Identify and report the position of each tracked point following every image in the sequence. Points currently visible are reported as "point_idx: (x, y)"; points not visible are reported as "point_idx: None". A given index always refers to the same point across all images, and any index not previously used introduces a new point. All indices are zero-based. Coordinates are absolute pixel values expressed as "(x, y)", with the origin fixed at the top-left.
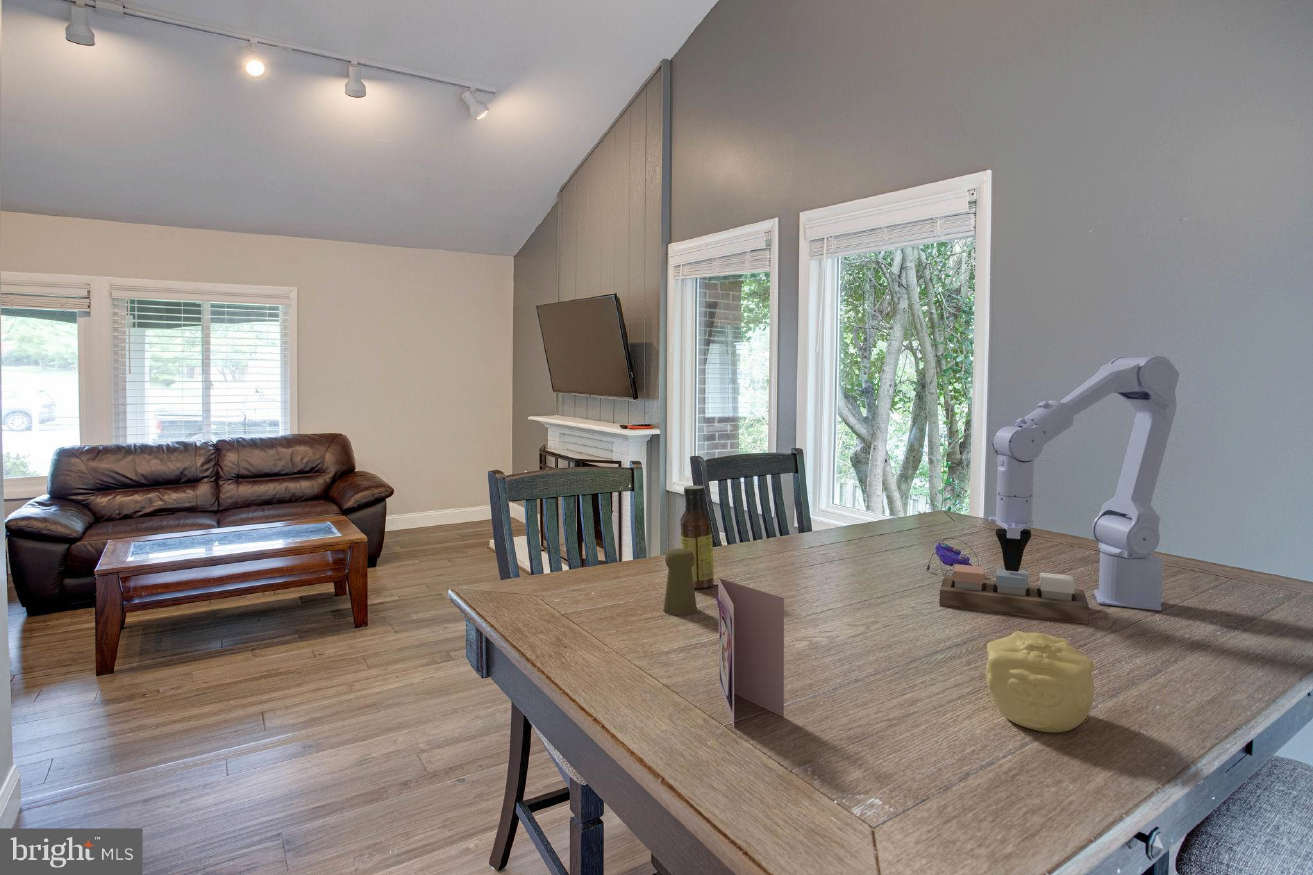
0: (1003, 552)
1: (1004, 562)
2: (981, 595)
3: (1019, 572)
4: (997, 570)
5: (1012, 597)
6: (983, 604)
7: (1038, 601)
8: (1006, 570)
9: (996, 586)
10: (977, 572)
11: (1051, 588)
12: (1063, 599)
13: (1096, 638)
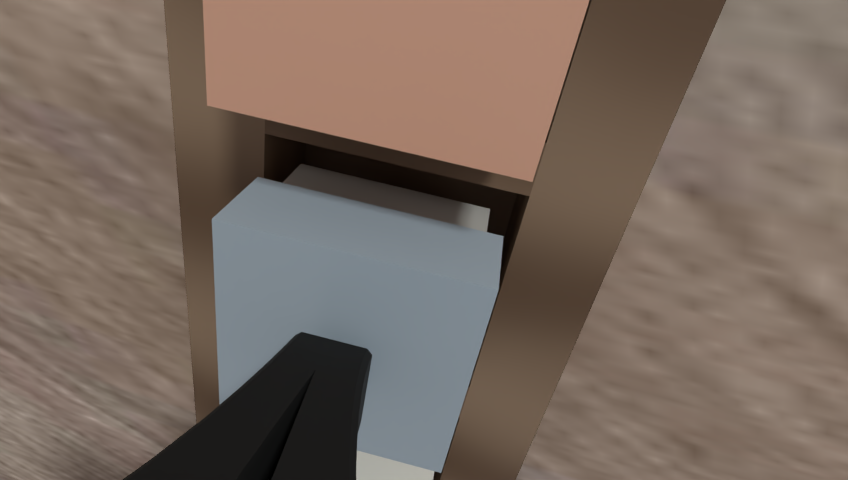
0: (137, 475)
1: (248, 380)
2: (172, 24)
3: (387, 416)
4: (406, 275)
5: (193, 233)
6: None
7: (192, 345)
8: (293, 337)
9: (523, 204)
10: (248, 44)
11: None
12: None
13: (91, 397)
